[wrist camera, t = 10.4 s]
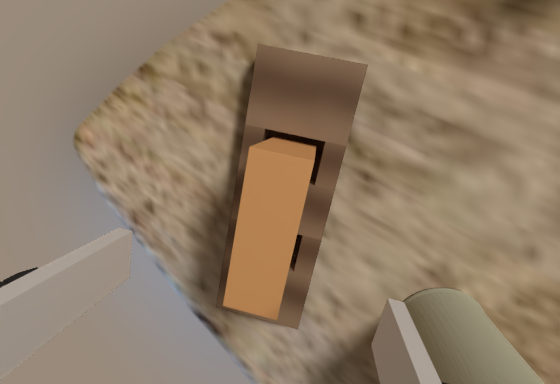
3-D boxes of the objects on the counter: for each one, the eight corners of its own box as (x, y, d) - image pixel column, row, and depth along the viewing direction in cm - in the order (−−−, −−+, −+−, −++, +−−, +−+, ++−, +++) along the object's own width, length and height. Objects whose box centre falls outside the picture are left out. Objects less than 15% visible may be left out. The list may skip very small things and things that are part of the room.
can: (375, 330, 31) (408, 457, 19) (431, 270, 28) (510, 376, 16) (443, 374, 31) (517, 525, 19) (506, 319, 28) (635, 456, 17)
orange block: (291, 251, 30) (276, 320, 20) (255, 243, 30) (222, 305, 20) (316, 145, 26) (314, 161, 16) (275, 136, 27) (249, 146, 17)
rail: (299, 313, 31) (297, 329, 29) (223, 293, 32) (216, 307, 30) (363, 70, 24) (367, 64, 22) (263, 51, 25) (257, 44, 22)
